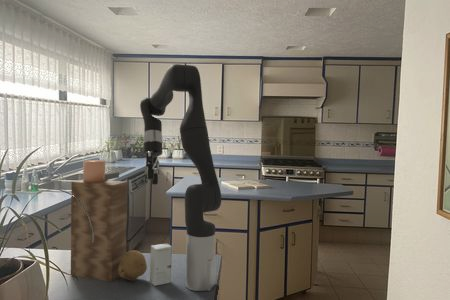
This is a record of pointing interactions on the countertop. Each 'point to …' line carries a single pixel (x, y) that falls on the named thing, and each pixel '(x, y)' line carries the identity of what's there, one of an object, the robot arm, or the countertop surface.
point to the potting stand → (98, 228)
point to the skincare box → (160, 264)
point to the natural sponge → (132, 265)
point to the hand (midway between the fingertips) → (152, 181)
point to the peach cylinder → (96, 172)
